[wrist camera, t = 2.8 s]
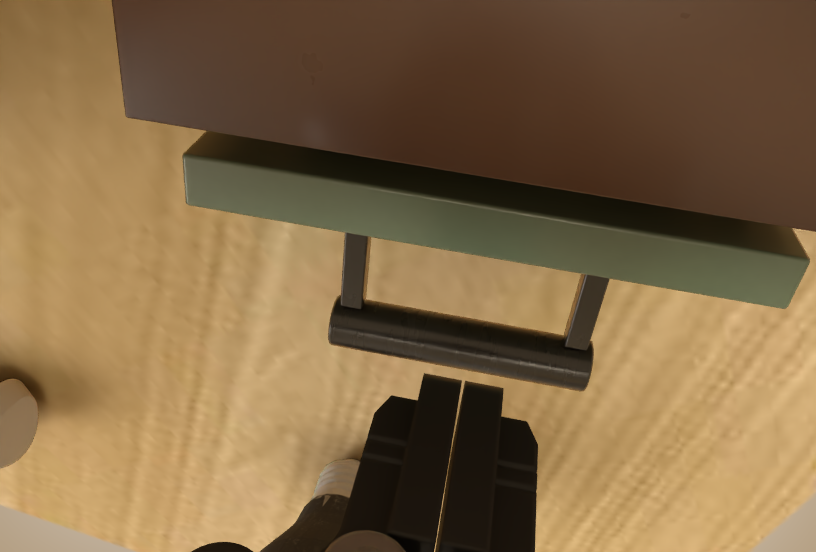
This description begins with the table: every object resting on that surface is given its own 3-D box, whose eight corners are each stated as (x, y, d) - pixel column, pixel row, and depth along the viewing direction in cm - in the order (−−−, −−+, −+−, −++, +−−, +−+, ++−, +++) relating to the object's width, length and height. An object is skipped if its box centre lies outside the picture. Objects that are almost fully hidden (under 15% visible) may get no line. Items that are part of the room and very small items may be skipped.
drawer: (658, 301, 24) (700, 488, 17) (290, 237, 25) (199, 391, 18) (936, -453, 14) (1277, -675, 7) (301, -513, 15) (109, -756, 8)
